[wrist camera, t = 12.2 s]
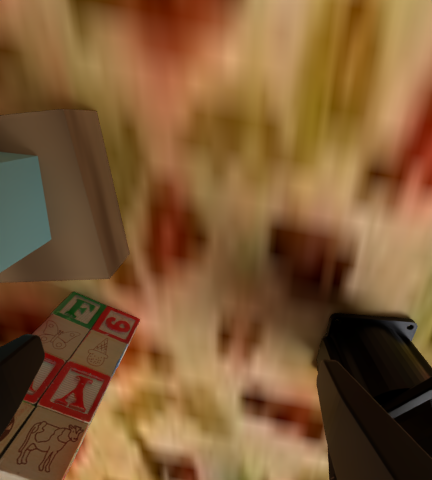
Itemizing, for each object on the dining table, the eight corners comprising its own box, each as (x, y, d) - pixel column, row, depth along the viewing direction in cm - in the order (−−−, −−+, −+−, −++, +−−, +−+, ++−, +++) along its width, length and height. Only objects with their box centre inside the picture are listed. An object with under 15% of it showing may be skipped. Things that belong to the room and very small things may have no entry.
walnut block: (99, 111, 18) (63, 108, 14) (131, 251, 22) (109, 278, 18) (-42, 125, 19) (-110, 126, 15) (13, 257, 23) (-30, 283, 19)
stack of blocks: (81, 445, 32) (-3, 621, 21) (28, 427, 31) (-88, 599, 20) (141, 317, 24) (56, 495, 13) (72, 288, 23) (-85, 449, 12)
